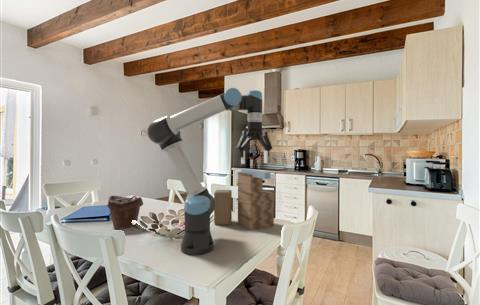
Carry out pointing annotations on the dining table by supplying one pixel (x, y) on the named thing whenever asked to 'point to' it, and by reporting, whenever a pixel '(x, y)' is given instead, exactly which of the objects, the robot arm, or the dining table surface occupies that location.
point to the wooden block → (223, 207)
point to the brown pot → (124, 210)
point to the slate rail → (257, 173)
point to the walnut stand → (254, 203)
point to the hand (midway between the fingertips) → (254, 163)
